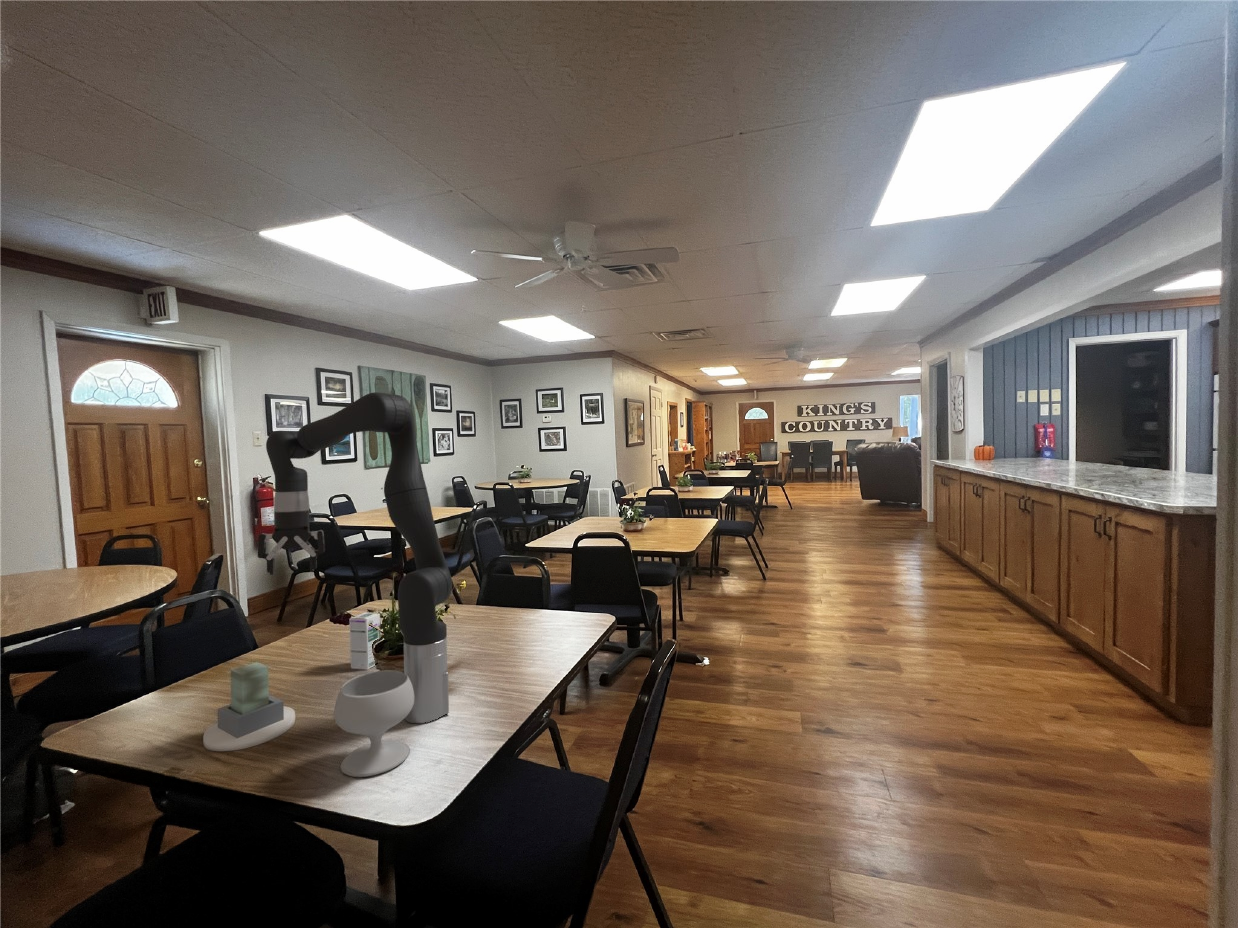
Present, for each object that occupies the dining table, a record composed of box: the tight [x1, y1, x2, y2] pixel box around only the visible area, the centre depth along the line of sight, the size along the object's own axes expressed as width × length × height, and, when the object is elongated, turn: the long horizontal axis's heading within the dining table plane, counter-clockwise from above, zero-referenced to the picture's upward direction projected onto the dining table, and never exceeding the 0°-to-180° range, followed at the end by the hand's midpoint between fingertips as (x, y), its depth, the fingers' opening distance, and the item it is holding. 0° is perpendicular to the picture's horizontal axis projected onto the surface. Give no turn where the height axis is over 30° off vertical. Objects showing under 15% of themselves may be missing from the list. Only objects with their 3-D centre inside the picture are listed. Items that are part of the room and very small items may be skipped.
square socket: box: [202, 694, 296, 752], centre depth 109 cm, size 16×16×6 cm
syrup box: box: [349, 611, 381, 671], centre depth 144 cm, size 6×6×14 cm
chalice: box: [333, 669, 414, 778], centre depth 97 cm, size 14×14×15 cm
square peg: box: [230, 661, 270, 715], centre depth 109 cm, size 5×5×12 cm
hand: (292, 572), depth 128 cm, fingers open, 8 cm apart
